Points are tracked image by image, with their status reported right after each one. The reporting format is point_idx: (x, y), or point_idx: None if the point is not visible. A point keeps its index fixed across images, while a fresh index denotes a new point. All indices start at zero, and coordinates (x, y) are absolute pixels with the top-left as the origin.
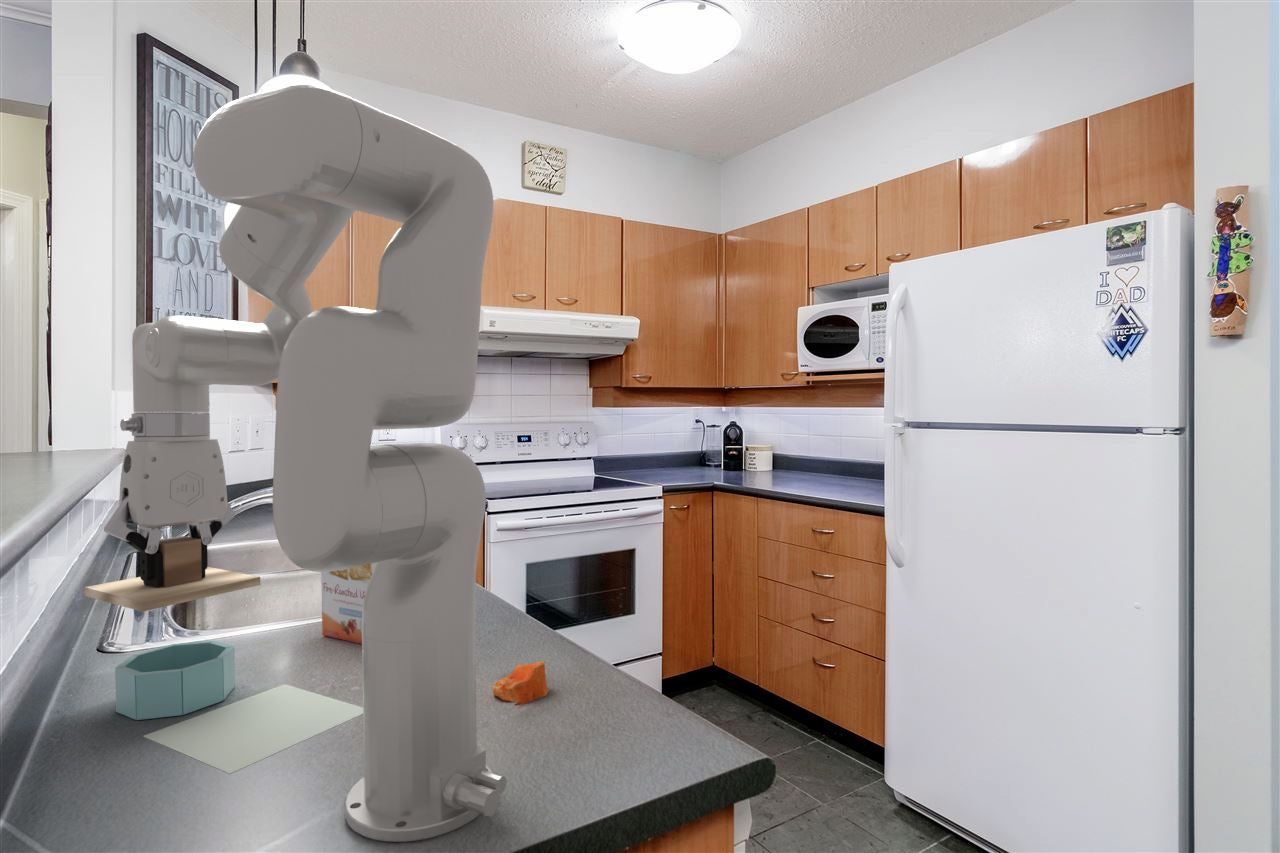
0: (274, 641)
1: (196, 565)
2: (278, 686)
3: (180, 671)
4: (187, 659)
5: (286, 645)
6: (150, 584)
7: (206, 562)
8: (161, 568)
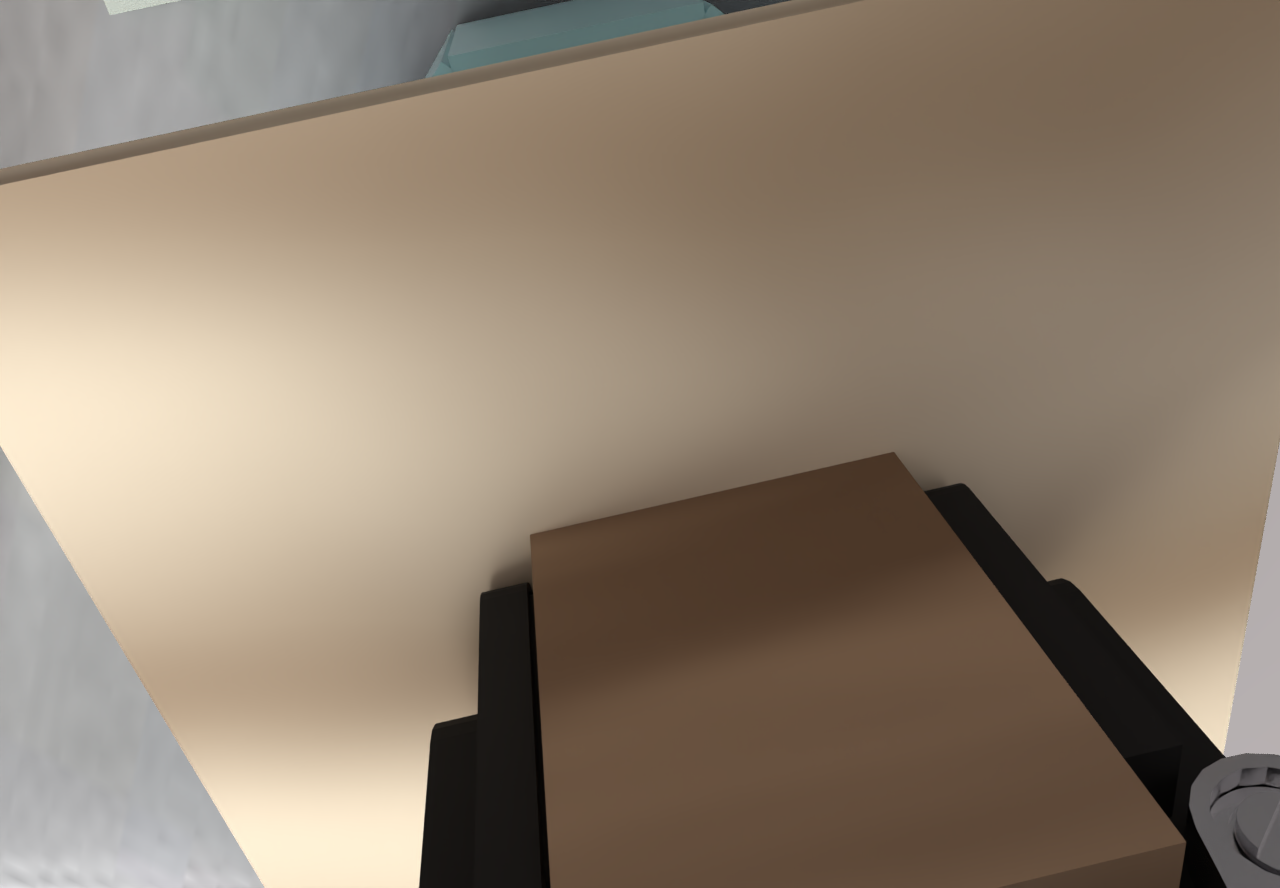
0: (52, 736)
1: (599, 639)
2: (151, 3)
3: (714, 6)
4: None
5: (4, 651)
6: None
7: (441, 764)
8: (1011, 602)
